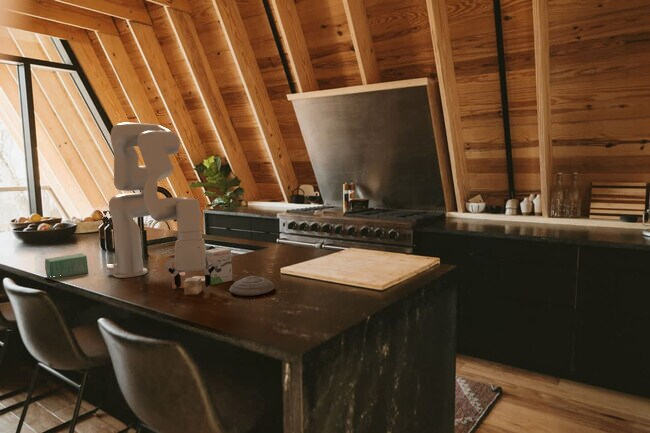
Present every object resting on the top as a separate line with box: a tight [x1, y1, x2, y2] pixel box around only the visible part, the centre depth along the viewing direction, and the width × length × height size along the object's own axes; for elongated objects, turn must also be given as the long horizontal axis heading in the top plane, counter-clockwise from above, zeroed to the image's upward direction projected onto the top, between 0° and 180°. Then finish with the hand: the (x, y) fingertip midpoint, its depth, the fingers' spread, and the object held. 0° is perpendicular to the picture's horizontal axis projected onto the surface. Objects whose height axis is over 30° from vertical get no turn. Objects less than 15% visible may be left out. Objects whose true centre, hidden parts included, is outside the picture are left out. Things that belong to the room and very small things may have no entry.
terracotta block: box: [171, 271, 187, 289], centre depth 164 cm, size 4×4×4 cm
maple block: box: [183, 277, 202, 295], centre depth 157 cm, size 4×4×4 cm
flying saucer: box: [228, 275, 276, 297], centre depth 156 cm, size 15×15×6 cm
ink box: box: [204, 247, 233, 285], centre depth 169 cm, size 9×5×12 cm, turn 136°
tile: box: [191, 275, 205, 283], centre depth 173 cm, size 6×6×1 cm
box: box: [44, 253, 89, 280], centre depth 185 cm, size 7×14×8 cm, turn 135°
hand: (193, 286), depth 156 cm, fingers open, 9 cm apart
